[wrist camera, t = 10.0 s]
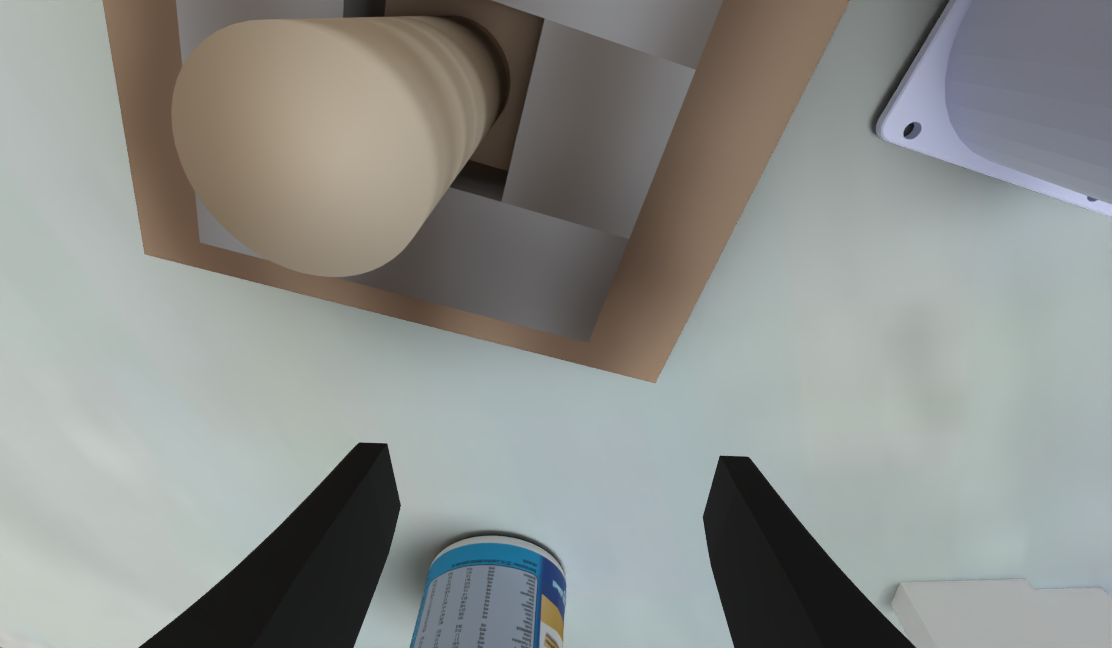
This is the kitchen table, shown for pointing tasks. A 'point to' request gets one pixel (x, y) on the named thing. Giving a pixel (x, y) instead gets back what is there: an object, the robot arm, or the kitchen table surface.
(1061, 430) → the kitchen table surface
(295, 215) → the peg
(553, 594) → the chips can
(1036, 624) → the napkin holder
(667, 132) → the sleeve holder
